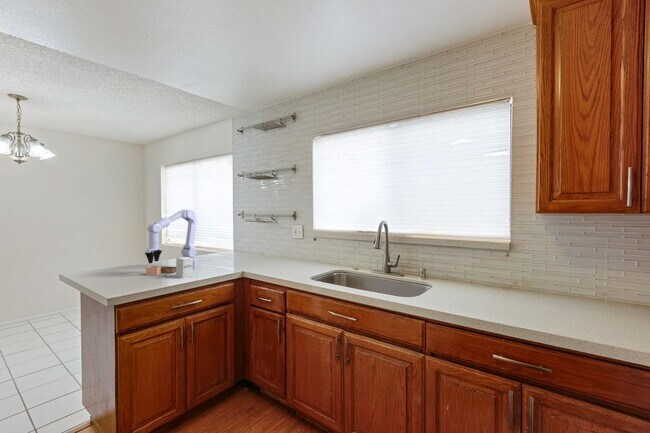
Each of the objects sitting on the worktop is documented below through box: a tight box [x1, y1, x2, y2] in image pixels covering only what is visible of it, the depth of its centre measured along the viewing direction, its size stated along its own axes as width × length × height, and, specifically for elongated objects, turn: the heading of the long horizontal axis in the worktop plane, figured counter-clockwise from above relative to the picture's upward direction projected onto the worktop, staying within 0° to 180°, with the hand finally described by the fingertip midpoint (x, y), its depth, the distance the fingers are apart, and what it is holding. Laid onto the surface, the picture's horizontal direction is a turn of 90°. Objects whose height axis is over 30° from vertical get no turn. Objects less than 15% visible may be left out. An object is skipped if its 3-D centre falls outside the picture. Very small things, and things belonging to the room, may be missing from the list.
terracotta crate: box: [145, 265, 162, 275], centre depth 202 cm, size 7×5×5 cm
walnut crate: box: [161, 265, 176, 275], centre depth 211 cm, size 11×9×3 cm
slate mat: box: [143, 273, 169, 277], centre depth 207 cm, size 13×17×1 cm
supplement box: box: [175, 256, 194, 279], centre depth 199 cm, size 7×7×13 cm
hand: (153, 262), depth 202 cm, fingers open, 7 cm apart
